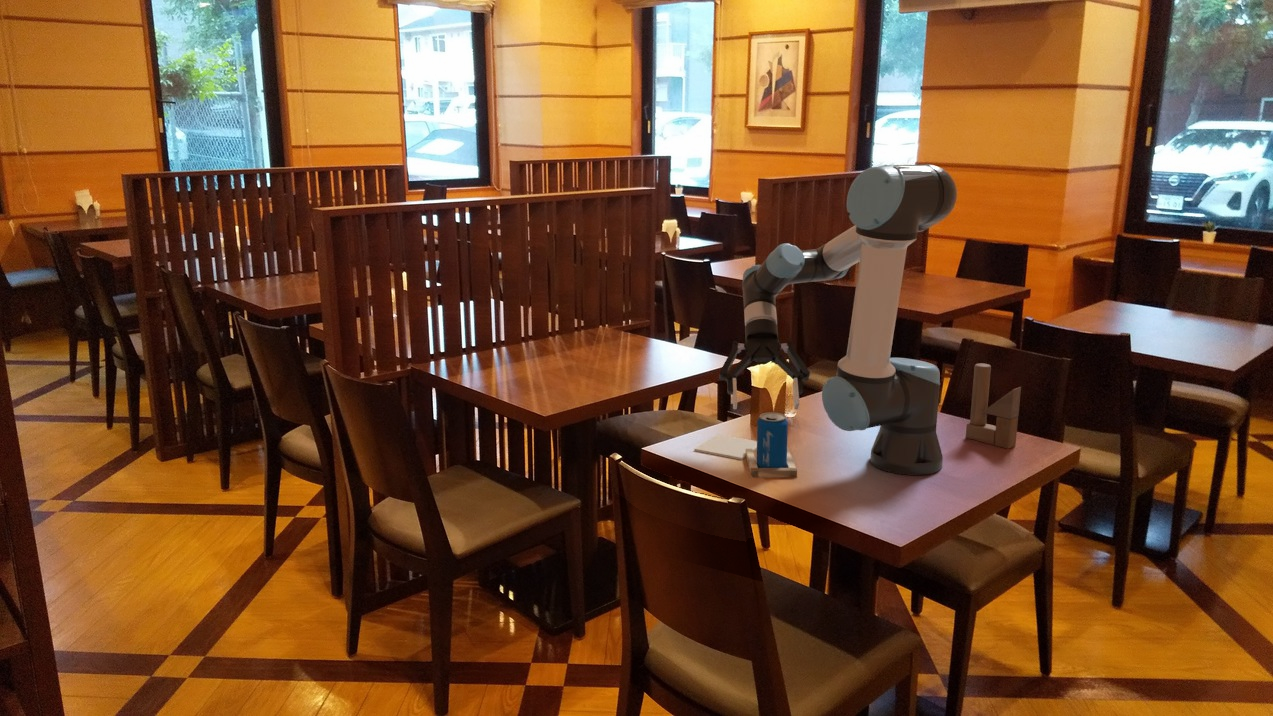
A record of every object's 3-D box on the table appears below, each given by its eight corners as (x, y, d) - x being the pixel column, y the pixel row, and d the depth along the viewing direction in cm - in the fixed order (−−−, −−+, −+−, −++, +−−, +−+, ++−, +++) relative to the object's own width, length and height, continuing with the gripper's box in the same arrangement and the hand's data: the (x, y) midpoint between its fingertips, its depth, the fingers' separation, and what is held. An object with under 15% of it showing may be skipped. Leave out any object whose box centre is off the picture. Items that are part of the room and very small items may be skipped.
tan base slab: (745, 454, 203) (745, 448, 203) (788, 454, 203) (788, 448, 202) (751, 477, 189) (751, 470, 189) (796, 477, 189) (797, 470, 189)
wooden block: (1008, 449, 204) (1015, 373, 200) (964, 438, 212) (970, 364, 208) (1016, 445, 207) (1023, 370, 202) (973, 434, 215) (979, 362, 210)
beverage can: (752, 471, 193) (753, 418, 190) (762, 462, 198) (763, 410, 195) (780, 476, 190) (782, 422, 187) (790, 466, 195) (792, 414, 192)
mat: (763, 444, 210) (763, 442, 210) (741, 459, 200) (741, 457, 200) (717, 436, 216) (718, 434, 216) (694, 450, 206) (694, 448, 206)
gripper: (812, 334, 212) (820, 414, 201) (706, 334, 213) (708, 414, 202) (817, 316, 205) (825, 398, 194) (707, 317, 206) (710, 398, 195)
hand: (766, 406), depth 198 cm, fingers open, 13 cm apart
